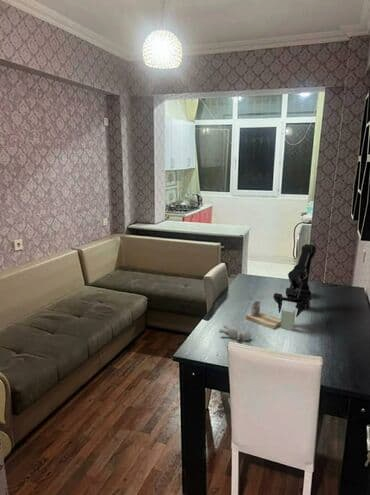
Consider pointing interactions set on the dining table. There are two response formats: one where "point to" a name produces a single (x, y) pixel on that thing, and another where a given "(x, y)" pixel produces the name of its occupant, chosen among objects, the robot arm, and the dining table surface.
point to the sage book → (287, 319)
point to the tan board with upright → (262, 317)
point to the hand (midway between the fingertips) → (287, 314)
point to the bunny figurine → (236, 333)
